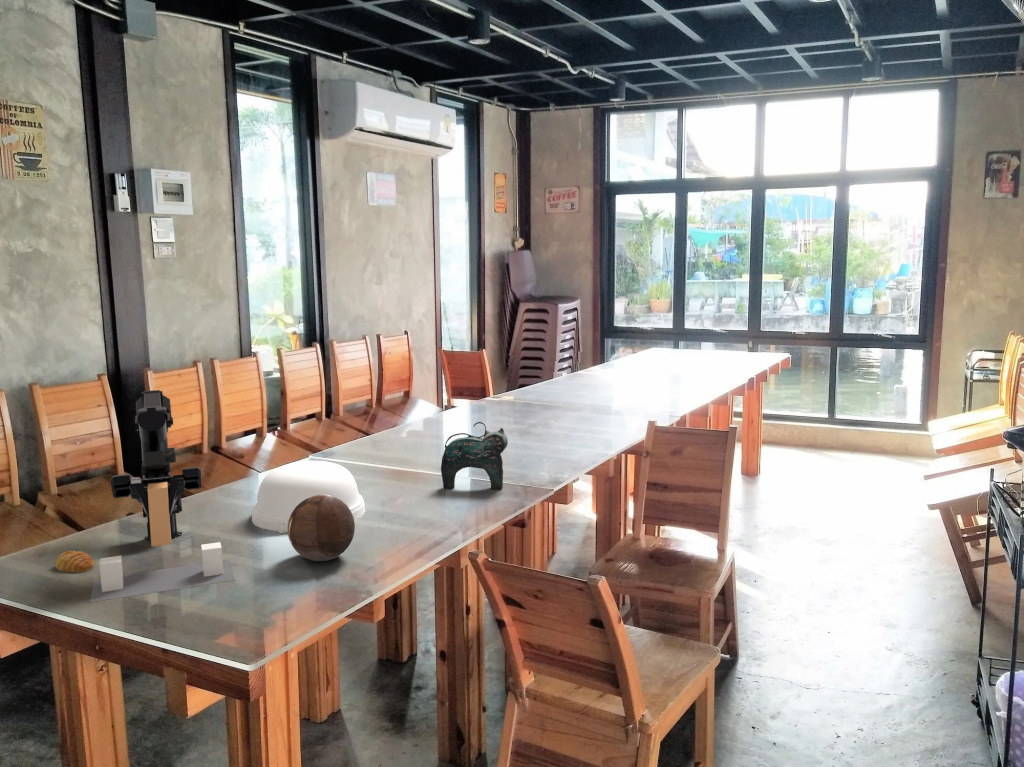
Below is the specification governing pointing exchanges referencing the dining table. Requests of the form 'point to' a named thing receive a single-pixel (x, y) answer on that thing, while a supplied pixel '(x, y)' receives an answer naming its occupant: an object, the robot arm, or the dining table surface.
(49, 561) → the dining table surface
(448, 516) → the dining table surface
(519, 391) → the dining table surface
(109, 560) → the white paddle
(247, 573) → the dining table surface
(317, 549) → the wooden sphere
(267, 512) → the dome cover
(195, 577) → the charcoal mat
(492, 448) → the ceramic cat
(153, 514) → the tan wooden plank
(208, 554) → the white paddle
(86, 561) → the pastry
